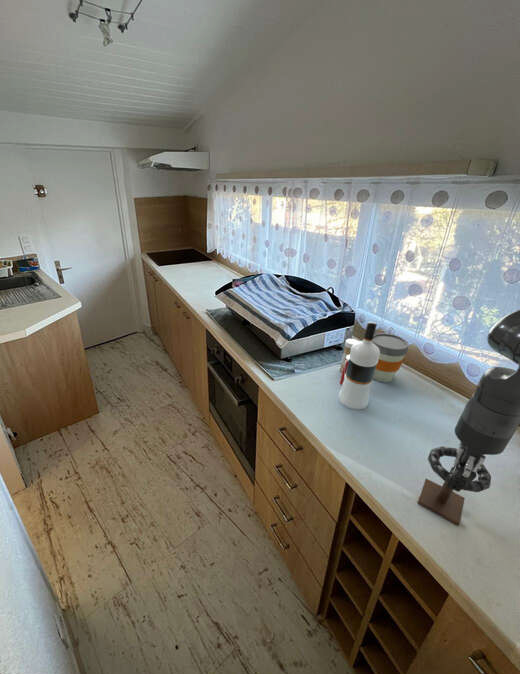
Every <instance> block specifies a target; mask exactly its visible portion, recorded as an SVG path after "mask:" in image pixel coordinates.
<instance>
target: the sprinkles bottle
mask: <svg viewBox="0 0 520 674" xmlns="http://www.w3.org/2000/svg"><path fill="white" fill-rule="evenodd" d="M356 342H359V341H358V340H357V339H354V338H347V339H346V340H345V343H344V349H343V353H342V358H341V363H340V368H339V371H340V372H341V373H342V370H343V365H344V361H345V358H346V357H347V355H350V350H351V347H352V345H353V344H355V343H356Z"/></svg>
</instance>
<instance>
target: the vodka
mask: <svg viewBox="0 0 520 674" xmlns="http://www.w3.org/2000/svg"><path fill="white" fill-rule="evenodd" d="M377 326H378V324H377V323H376V322H375V321H367V323H366V327H365V332H364V335H363V339H362V340H360V341H358V342H356V343H355V344H353V345H352V347H351V350H350V355H349V362H348V366H347V371H346V374H345V379H344V384H343V386H341V390H340V391H339V394H338V401H339V402H340V403H341V404H342V405H343V406H345V407H346V408H349V409H352V410H364V409H366V408H367V407H368V405H369V400H370V399H369V395H370V390H371V386H372V384H373V380H374V379H373V375H374V372H375V368H376V364H377V363H378V359H379V356H380V350H379V348H378V347H377V346H376V345H375V344H373V343H372V342H373V337H374V335H375V334H376V330H377Z"/></svg>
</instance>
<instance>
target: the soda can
mask: <svg viewBox="0 0 520 674" xmlns="http://www.w3.org/2000/svg"><path fill="white" fill-rule="evenodd" d="M348 362H349V355H347V357H346V358H345V361H344V365H343V370H342V372H341V375H340V379H339V386H341V387H343V384H344V379H345V374H346V371H347V366H348Z"/></svg>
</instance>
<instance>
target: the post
mask: <svg viewBox="0 0 520 674" xmlns="http://www.w3.org/2000/svg"><path fill="white" fill-rule="evenodd" d="M453 467H454V466H452V467H451V468H450V470H449V471H448V472H449V473H451V471H452V469H453ZM447 484H448V483H447V482H445V481H444V480H443V484H442V485H440V484H438V483H436V482H435V481H432V480H430V479H429V478H425V480H424V483H423V485H422V489H421V492H420V495H419V497H418V500H417V504H418V505H419V506H421V507H423V508H425V509H426V510H428V511H430V512H432V513H434V514H435V515H437V516H439V517H441V518H442V519H445V520H446V521H448V522H449V523H451V524H454V525H455V526H457V527H459V525H460V524H461V520H462V514H463V508H464V504H465V499H466V498H465V497H464V496H462V495H460V494H458V493H456V492H454V490H453V489H451V488H449V487H448V486H447Z"/></svg>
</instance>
